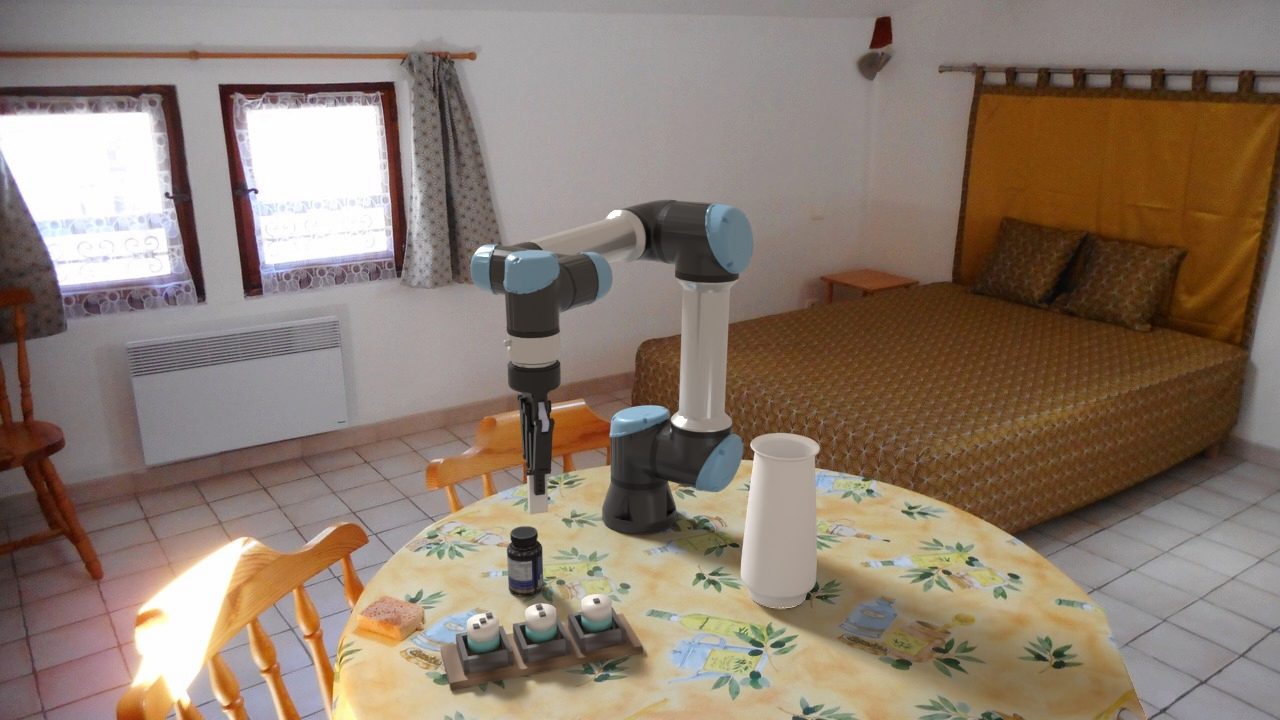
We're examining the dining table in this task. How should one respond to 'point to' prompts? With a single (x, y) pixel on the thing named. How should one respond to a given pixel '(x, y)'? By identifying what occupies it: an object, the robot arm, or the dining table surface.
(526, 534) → the pill bottle
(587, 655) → the button board
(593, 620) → the button one
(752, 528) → the vase
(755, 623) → the dining table surface
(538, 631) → the button two
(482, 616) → the button three
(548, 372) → the robot arm
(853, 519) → the dining table surface
